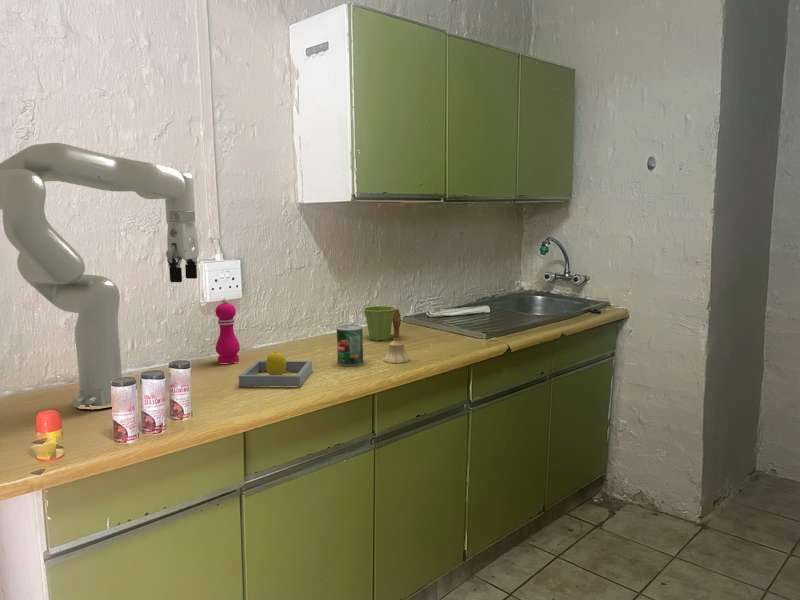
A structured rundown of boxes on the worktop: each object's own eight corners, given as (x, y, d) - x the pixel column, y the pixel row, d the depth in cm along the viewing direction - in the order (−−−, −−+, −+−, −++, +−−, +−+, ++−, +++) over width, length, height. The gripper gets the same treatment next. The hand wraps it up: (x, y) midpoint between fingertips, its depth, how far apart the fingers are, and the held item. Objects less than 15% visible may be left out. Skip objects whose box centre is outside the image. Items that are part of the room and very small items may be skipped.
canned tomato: (368, 361, 189) (367, 326, 188) (353, 367, 183) (352, 330, 181) (347, 358, 193) (346, 323, 192) (332, 363, 187) (331, 328, 185)
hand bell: (389, 356, 195) (389, 306, 193) (414, 358, 192) (413, 308, 190) (378, 362, 188) (378, 310, 185) (404, 364, 185) (403, 312, 182)
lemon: (277, 375, 175) (276, 347, 174) (290, 378, 171) (289, 350, 170) (262, 379, 171) (261, 351, 169) (275, 382, 167) (274, 354, 166)
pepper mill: (216, 365, 186) (212, 300, 183) (216, 360, 193) (212, 297, 190) (240, 363, 188) (237, 299, 185) (240, 358, 195) (237, 295, 192)
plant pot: (399, 336, 224) (399, 305, 223) (391, 343, 213) (390, 311, 211) (368, 335, 227) (368, 305, 226) (358, 341, 216) (358, 310, 214)
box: (300, 387, 163) (299, 376, 162) (239, 387, 164) (238, 376, 163) (312, 370, 179) (312, 360, 178) (256, 370, 180) (256, 360, 179)
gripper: (179, 218, 160) (183, 283, 162) (206, 218, 177) (209, 277, 179) (152, 218, 160) (156, 283, 163) (181, 218, 178) (184, 277, 180)
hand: (184, 280), depth 171 cm, fingers open, 9 cm apart
